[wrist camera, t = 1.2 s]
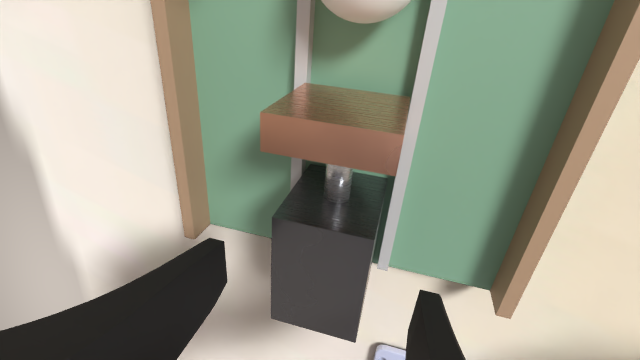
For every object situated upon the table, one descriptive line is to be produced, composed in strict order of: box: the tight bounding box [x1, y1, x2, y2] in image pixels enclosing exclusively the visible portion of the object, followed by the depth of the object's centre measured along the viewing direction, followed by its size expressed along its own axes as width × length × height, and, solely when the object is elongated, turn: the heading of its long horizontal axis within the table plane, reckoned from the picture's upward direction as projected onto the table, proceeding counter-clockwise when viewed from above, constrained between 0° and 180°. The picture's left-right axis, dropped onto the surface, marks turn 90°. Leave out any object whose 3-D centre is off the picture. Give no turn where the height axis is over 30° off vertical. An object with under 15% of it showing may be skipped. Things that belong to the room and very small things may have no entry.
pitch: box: [150, 0, 640, 319], centre depth 12 cm, size 19×16×6 cm
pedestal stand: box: [260, 83, 410, 342], centre depth 13 cm, size 9×4×5 cm, turn 175°
